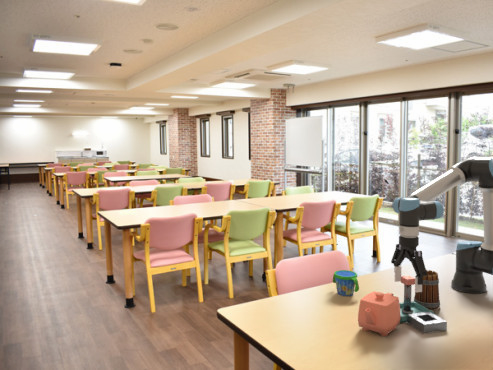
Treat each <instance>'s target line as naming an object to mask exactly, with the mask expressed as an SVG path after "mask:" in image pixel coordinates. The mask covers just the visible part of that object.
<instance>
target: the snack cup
mask: <svg viewBox="0 0 493 370" xmlns="http://www.w3.org/2000/svg"><path fill="white" fill-rule="evenodd" d="M332 283H334V284H335V286H336V292H337V294H338V295H340V296H343V297H351V296H353V295H354V293H357V292H359V290H360V286H359V281H358V273H356V272H355V271H352V270H348V269H342V270H336V271H334V273H333V277H332Z"/></svg>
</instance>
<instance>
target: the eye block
mask: <svg viewBox="0 0 493 370" xmlns="http://www.w3.org/2000/svg"><path fill="white" fill-rule="evenodd" d="M406 323H407V324H408V325H410V326H411V327H413V328H414V329H416V330H417V331H419V332H420V333H421V334H423V335H424V334H425V335H426V334H432V333H437V332H438V333H439V332H444V331H447V329H448V321H447V320H445V319H443V318H441V317H440V316H438V315H437V314H433V313H431V312H421V313H413V314H407V322H406Z"/></svg>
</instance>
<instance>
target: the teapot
mask: <svg viewBox="0 0 493 370" xmlns="http://www.w3.org/2000/svg"><path fill="white" fill-rule="evenodd" d="M399 303H400V297H398V296H397V295H396V296H395V295H394V293H390V292H386V293H384V292H380V291H371V292H370V293H368V294H366V295H365V296H363V297H362V298H361V299H360V301H359V306H358V313H357V322H358V327H360V328H362V330H363V331H365V332H370V331H372V332H376V333H379V335H380V336H381V337H388V336H389V333H391V332H392V331H395V330H396V329H397V327H398V326H399V324H401V323H400V304H399Z"/></svg>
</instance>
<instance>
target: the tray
mask: <svg viewBox="0 0 493 370" xmlns="http://www.w3.org/2000/svg"><path fill="white" fill-rule="evenodd" d="M399 304H400V323H399V324H403V323H407V315H406V314H403V313H402V309H403V308H404V301H403V302H399ZM411 310H413V313H421V312H431V313H433V314H434V315H436V314H435V312H434V310H429V309H427V308H426V307H424V306H422V305H420V304H418V303H417V302H415V301H414V300H413V301H412V300H411Z"/></svg>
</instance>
